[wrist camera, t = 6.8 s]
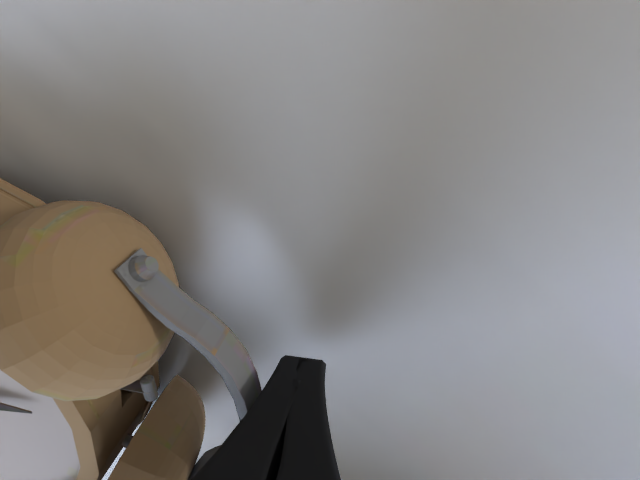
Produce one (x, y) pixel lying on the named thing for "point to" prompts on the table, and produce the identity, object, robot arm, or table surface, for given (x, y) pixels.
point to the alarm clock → (99, 347)
